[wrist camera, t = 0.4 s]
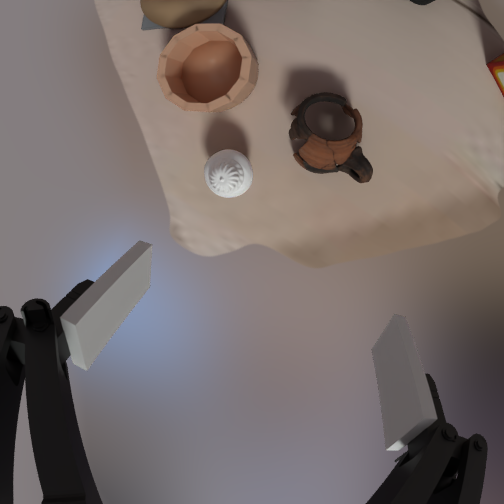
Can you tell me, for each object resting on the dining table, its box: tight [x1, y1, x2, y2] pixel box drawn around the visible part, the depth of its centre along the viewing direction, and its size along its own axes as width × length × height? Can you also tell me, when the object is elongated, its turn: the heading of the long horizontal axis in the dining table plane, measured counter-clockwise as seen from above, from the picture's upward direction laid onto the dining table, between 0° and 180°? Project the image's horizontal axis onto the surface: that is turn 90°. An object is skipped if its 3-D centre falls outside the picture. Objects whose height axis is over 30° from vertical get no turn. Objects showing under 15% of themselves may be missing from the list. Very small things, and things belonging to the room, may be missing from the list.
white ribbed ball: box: [204, 149, 253, 198], centre depth 36 cm, size 6×6×7 cm
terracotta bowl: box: [157, 24, 259, 112], centre depth 31 cm, size 11×11×6 cm
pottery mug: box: [289, 93, 373, 183], centre depth 33 cm, size 12×10×8 cm
